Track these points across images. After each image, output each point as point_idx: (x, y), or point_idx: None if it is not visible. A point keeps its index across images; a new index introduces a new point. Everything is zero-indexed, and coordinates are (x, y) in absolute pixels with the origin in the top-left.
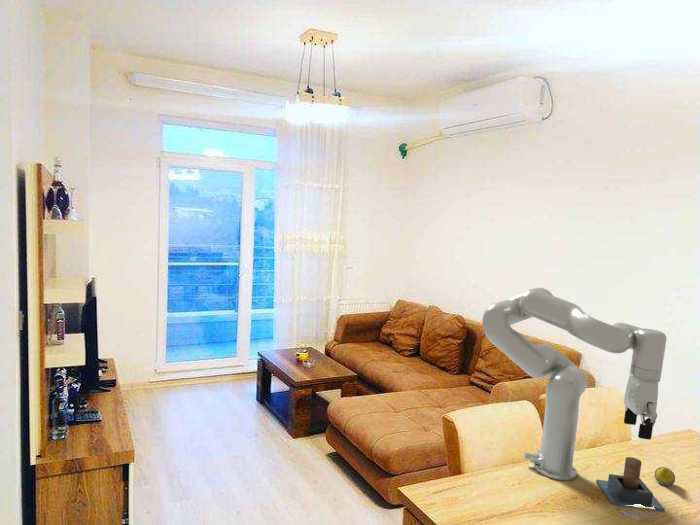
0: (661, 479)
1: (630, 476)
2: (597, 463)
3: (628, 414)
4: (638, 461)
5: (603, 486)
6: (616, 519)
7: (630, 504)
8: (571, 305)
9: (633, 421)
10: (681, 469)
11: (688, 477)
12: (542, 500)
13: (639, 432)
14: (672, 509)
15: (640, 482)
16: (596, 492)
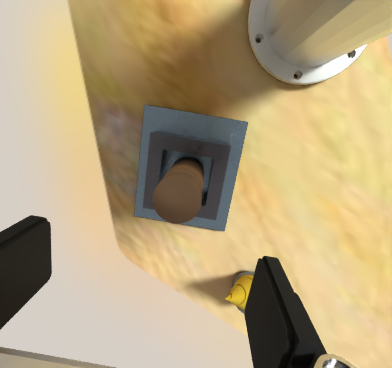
0: (240, 278)
1: (166, 173)
2: (343, 179)
3: (274, 326)
4: (171, 214)
5: (213, 122)
6: (84, 82)
7: (140, 148)
8: None
9: (251, 316)
10: None
11: None
12: None
13: (5, 230)
14: (147, 235)
15: None
16: (196, 95)
